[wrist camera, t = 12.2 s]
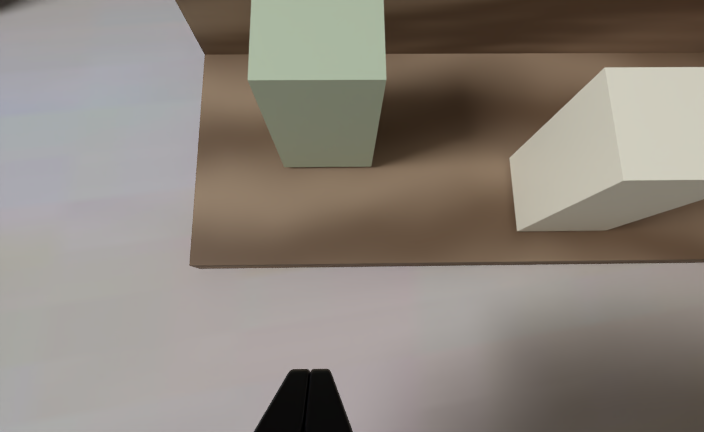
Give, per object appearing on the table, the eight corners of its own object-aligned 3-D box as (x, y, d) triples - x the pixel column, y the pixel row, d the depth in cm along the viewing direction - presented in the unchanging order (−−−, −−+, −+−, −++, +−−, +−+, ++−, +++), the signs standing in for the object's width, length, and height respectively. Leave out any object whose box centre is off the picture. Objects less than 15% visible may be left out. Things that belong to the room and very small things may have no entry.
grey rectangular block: (605, 230, 22) (766, 179, 13) (517, 231, 22) (623, 180, 13) (594, 157, 23) (738, 67, 14) (509, 158, 22) (604, 67, 14)
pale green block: (371, 166, 22) (386, 79, 14) (284, 167, 22) (247, 80, 14) (369, 97, 23) (382, -23, 15) (285, 98, 23) (252, -23, 15)
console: (887, 260, 23) (1584, 191, 10) (199, 268, 23) (-2, 207, 10) (816, 24, 27) (1272, -255, 14) (215, 26, 26) (84, -266, 13)
